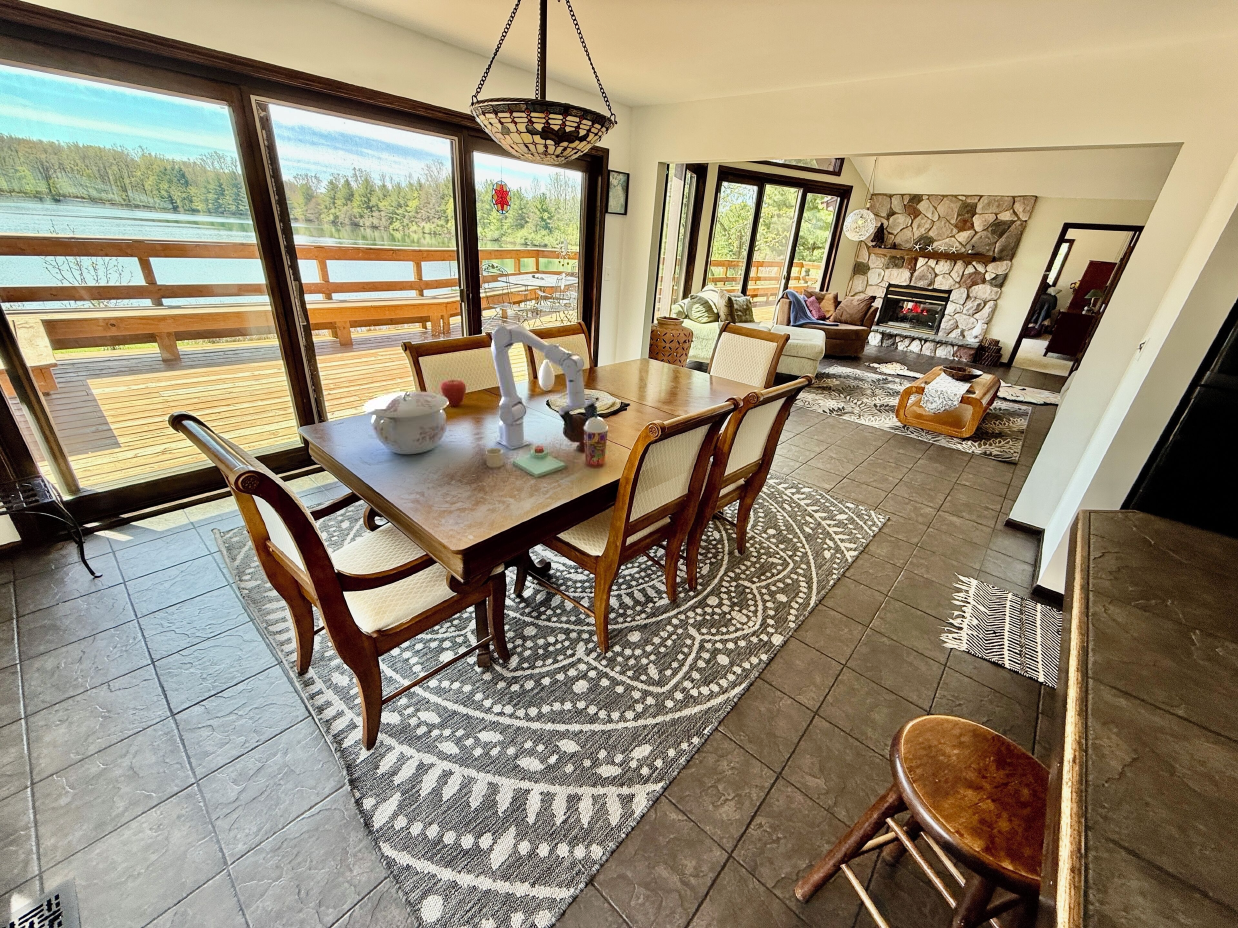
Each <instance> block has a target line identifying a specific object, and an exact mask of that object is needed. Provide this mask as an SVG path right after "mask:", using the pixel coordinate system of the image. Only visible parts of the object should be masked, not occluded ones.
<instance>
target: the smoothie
mask: <svg viewBox="0 0 1238 928" xmlns="http://www.w3.org/2000/svg"><path fill="white" fill-rule="evenodd" d="M608 432H609V426H608V424H607V422H605V420H604V419H603V418H602V417H599V416H598V409H597V410H595V415H594V417H592V418H590V419H589V420H588V421H587V422H586V424H585V425H584V443H585V452H584V460H585V463H586V465H587V466H588V467H592V468H599V467H602V466H603V465H604V463H605V462H606V451H607V441H608Z"/></svg>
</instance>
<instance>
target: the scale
mask: <svg viewBox="0 0 1238 928" xmlns="http://www.w3.org/2000/svg"><path fill="white" fill-rule="evenodd" d="M543 449H544V452H543V453H535V447H534V448H532V449H531V450H530V454H527V455H524V456H521V457H518V458H514V459H512V464H513V465H514V466H516V467H518V468H520V469H521V470H523V471H524V472H526V473H528V474H530V475H531V476H532V477H534V478H536V479H537V478H541V477H543V476H545V475H548V474H552V473H555V472H557V471H559V470H564V469H565V468H566V464H565V463H564V462H563V461H560V460H558V459H556V458H554V457H553V456H551V455H549V450H548V449H547V448H545V447H543Z"/></svg>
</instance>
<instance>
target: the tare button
mask: <svg viewBox="0 0 1238 928" xmlns="http://www.w3.org/2000/svg"><path fill="white" fill-rule="evenodd" d="M534 448H535V453H543V452H544V449H543V448H544V446H542V445H536V446H535V447H534Z"/></svg>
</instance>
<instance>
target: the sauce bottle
mask: <svg viewBox="0 0 1238 928" xmlns="http://www.w3.org/2000/svg"><path fill="white" fill-rule="evenodd" d="M555 380H556V379H555V372H554V369H553V366H552V363H550V361H549V360H547V359H546V358H545V359H544V360H543V363H542V364H541V366H540V369H539V371H538V383H539V386H540V388H541V389H542V390H543V391H544V392H549V391H551V389H552V388H554V384H555Z"/></svg>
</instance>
